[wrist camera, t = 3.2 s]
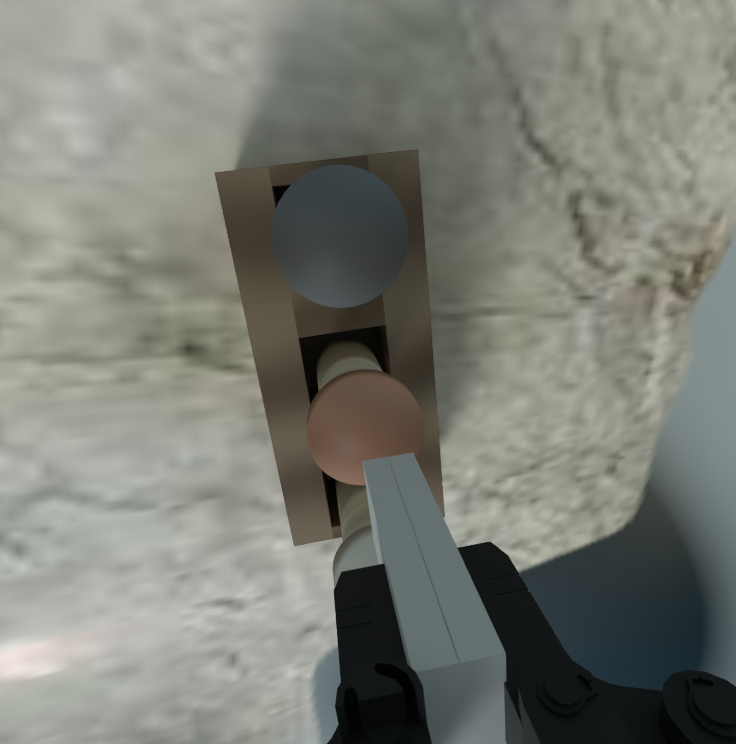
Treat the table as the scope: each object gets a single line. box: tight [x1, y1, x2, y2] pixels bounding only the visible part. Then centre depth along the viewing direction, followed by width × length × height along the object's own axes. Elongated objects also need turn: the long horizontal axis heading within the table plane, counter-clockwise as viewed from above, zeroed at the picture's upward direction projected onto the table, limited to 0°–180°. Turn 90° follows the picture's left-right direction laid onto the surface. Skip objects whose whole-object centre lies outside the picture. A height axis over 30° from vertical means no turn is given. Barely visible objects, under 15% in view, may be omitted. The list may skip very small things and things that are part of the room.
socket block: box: [215, 149, 445, 546], centre depth 26 cm, size 20×9×5 cm, turn 7°
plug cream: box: [333, 479, 379, 587], centre depth 23 cm, size 4×4×8 cm
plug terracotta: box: [307, 338, 425, 485], centre depth 21 cm, size 4×4×8 cm
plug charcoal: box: [271, 165, 408, 308], centre depth 18 cm, size 4×4×8 cm
